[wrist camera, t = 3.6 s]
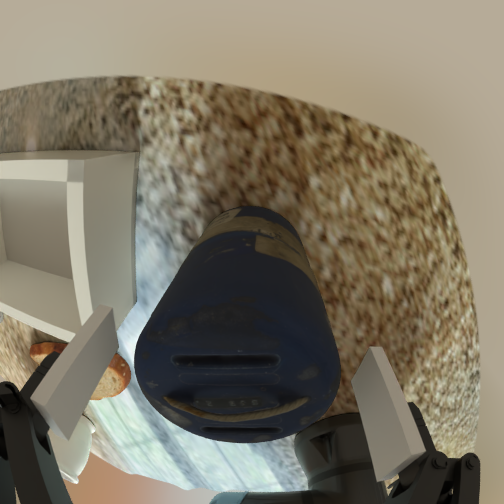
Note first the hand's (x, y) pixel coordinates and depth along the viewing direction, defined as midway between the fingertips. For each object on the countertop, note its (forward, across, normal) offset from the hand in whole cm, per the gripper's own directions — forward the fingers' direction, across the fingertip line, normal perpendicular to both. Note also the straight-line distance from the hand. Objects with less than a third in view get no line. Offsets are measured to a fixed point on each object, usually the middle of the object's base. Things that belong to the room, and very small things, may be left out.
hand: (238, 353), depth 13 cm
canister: (+14, 0, +1) cm, 14 cm away
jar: (+14, +30, +44) cm, 55 cm away
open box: (+14, +23, 0) cm, 27 cm away
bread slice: (+14, +24, +24) cm, 37 cm away
